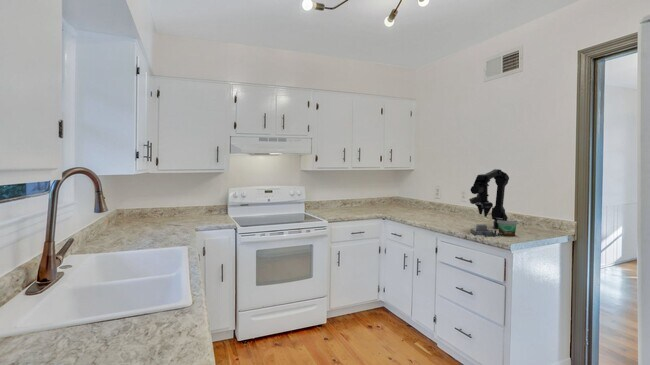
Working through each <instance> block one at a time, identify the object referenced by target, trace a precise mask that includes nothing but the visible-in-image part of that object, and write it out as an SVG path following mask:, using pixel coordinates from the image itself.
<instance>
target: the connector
mask: <svg viewBox="0 0 650 365" xmlns="http://www.w3.org/2000/svg"><path fill="white" fill-rule="evenodd" d="M475 226H476V228H475V231H487V229H488V225H486V224H483V223H482V224H479V223H477V224H476V225H475Z"/></svg>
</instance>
